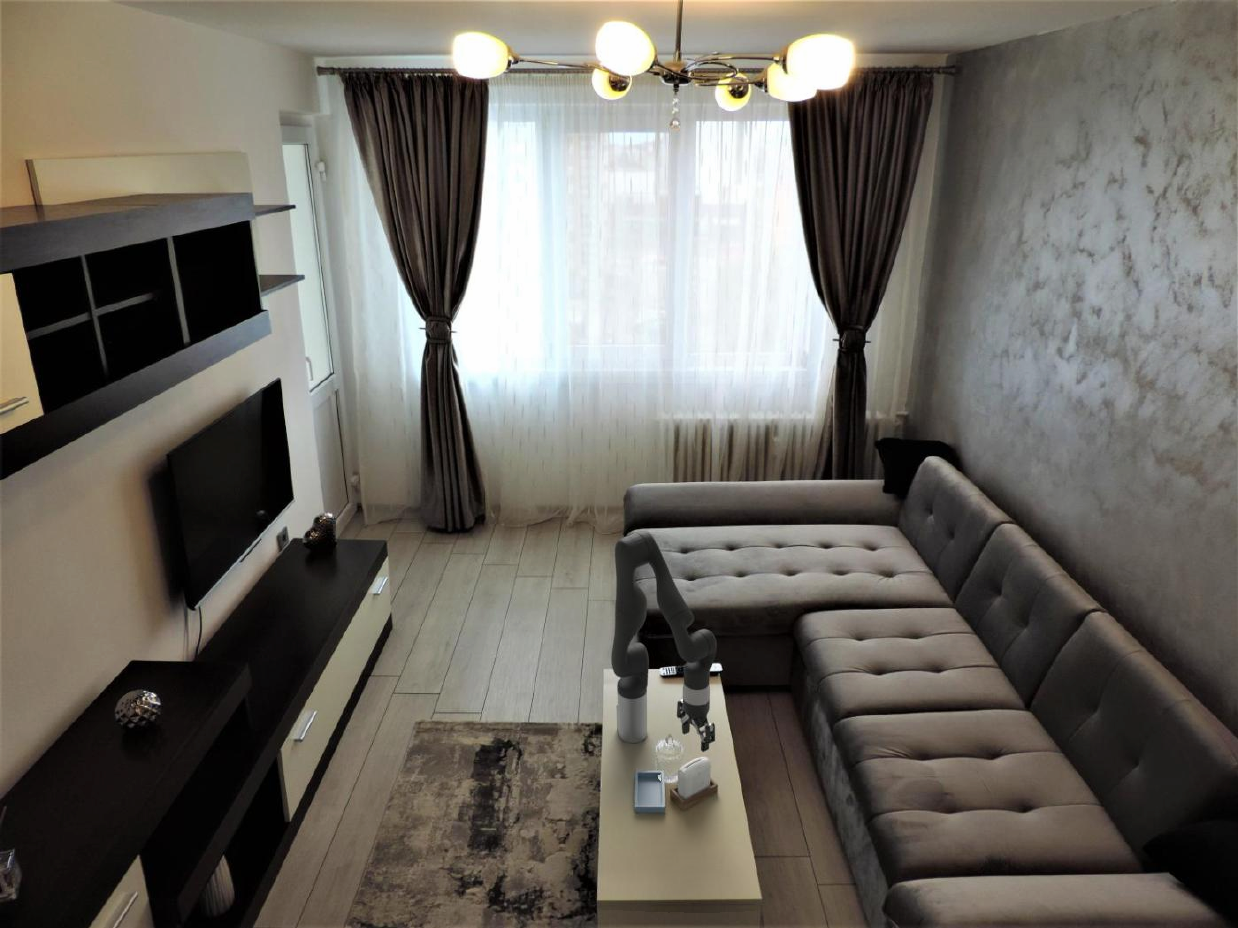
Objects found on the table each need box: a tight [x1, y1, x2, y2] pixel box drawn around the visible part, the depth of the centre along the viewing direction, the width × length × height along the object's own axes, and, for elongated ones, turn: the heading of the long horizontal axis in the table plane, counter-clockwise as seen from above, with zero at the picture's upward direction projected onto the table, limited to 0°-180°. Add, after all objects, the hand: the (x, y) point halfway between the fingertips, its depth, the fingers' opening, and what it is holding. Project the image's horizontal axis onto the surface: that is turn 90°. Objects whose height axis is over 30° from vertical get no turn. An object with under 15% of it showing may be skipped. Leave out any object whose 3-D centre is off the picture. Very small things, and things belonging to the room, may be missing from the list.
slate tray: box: [634, 770, 666, 815], centre depth 253 cm, size 14×9×2 cm, turn 179°
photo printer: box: [677, 756, 712, 801], centre depth 251 cm, size 10×4×12 cm, turn 123°
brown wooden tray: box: [669, 777, 719, 812], centre depth 253 cm, size 7×12×3 cm, turn 124°
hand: (695, 741), depth 246 cm, fingers open, 8 cm apart
